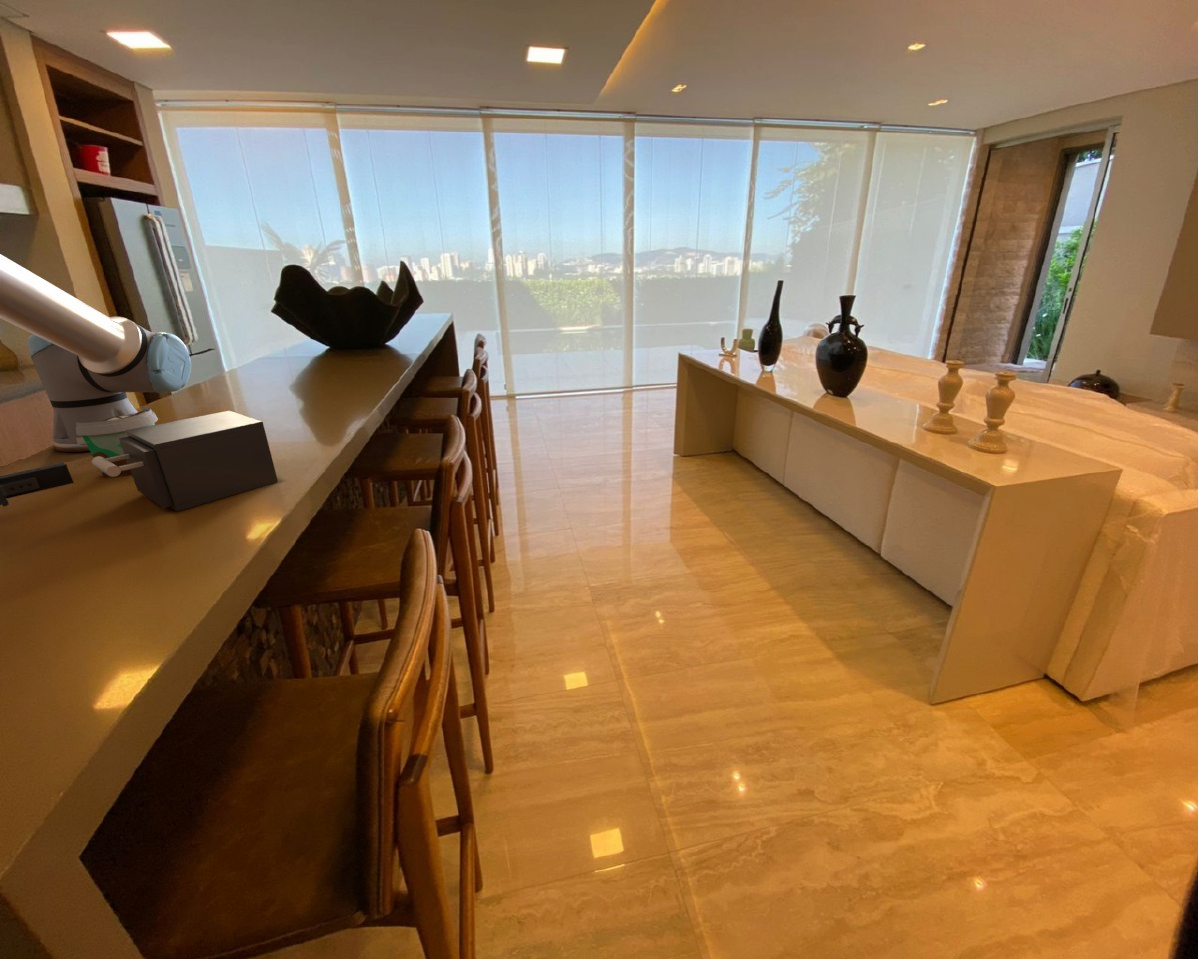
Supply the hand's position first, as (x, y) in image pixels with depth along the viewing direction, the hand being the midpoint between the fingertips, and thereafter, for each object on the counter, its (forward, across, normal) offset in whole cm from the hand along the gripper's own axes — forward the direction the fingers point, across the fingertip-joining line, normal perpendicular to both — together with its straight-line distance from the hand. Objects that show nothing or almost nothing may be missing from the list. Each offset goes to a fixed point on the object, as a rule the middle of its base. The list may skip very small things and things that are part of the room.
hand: (68, 472), depth 73 cm
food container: (+12, -21, -8) cm, 26 cm away
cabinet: (+16, 0, -8) cm, 18 cm away
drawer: (+12, 0, -7) cm, 14 cm away
